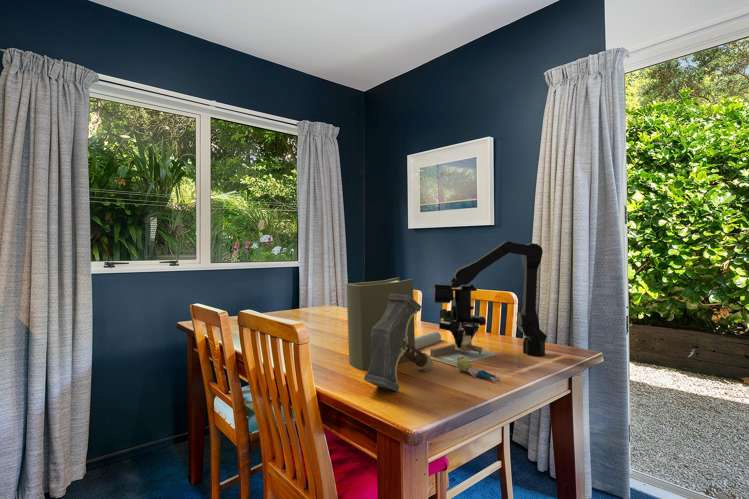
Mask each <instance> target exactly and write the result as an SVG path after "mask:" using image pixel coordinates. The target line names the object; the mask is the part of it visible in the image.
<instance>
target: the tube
mask: <svg viewBox="0 0 749 499" xmlns="http://www.w3.org/2000/svg"><path fill="white" fill-rule="evenodd" d="M441 340H442V335H441V333H440V332H439V331H431V332H427V333H424V334H421V335H418V336H415V348H416V349H417V350H420V349H422V348H425V347H428V346H431V345H433V344H436V343H439V342H441Z"/></svg>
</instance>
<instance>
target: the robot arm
mask: <svg viewBox="0 0 749 499" xmlns="http://www.w3.org/2000/svg"><path fill="white" fill-rule="evenodd" d="M543 251H544V250H543V248H542V247H541V246H540V244H538V243H532V242H531V243H525V244H523V243H522V244H521V243H517V242H516V243H515V242H512V241H509V240H505V241H502V242H501V244H499V245H498V246H496V247H495V248H493V249H492V250H490V251H489V252H487V253H486V254H484V255H483V256H481V257H479V258H478V259H477V260H475V261H473V262H471V263H469V264H466V265H463V266H461V267H458V268H457V269H455V271H454V273H453V278H452V279H451V281H450V282H449V283H448V284H442V283H441V284H440V283H434V288H433V290H434V292H433V303H434V304H451V302H453V301H454V305H452V306H451V309H450V310H447V309H446V308H443V309H439V317H440V319H442V320H440V321H439V325H438V326H439V330H440V329H441V330H444V331H449V332H451V334H452V336H453V339H454V343H455V342H456V345H457V347H458V348H461V344H462V339H463V335H464V334H465V335H469V336H471V341H472V340H473V337H474V336H475V335H476V333H477V330H478V329H480V326H482V327H483V326H486V325H487V320H486V318H485V317H484V316H481V315H475V314H474V315H472V310H475V309H474V308H475V306H473V305H472V292H477V291H478V289H477V288H476V287H475V286H474V284H473V283H471V282H472V281H473V280H474V279H475V278H476V277H477V276H478V275H479V274H480V273H481V272H482V271H484V270H485V269H486V268H488V267H490V266H491V265H493V264H494V263H496V262H497V261H498V260H500V259H502V258H503V257H504V256H506V255H508V254H515V255H519V256H520V257H521V258H520V259H521V262H522V266H523V292H522V293H523V294H522V309H521V311H520V312H516V322H515V323H516V325H517V327H518V329H519V331H520V332H522V333H523V335H524V338H523V341H522V351H523V352H522V353H523V354H525V355H527V356H530V357H539V358H541V357H545V356H546V340H547V338H548V335H547V334H545V333H544V332H543V331H542V330H541V329H540V327H541V326H540V320H539V316H538V313H537V288H538V285H537V284H538V271H539V267H540V264H541V262H542V258H543ZM477 324H478V325H479V326H477Z"/></svg>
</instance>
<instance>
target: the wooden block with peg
mask: <svg viewBox="0 0 749 499" xmlns="http://www.w3.org/2000/svg"><path fill="white" fill-rule="evenodd" d="M471 341H472V340H471V336H469V335H465V333H464V335H463V339H462V344H461V348H458V347H457V345H456V342H455V341H454V344H455V350H459V351H463V352H465V351H469V350H473V351H477V352H479V354H481V352H482V350H483V347H482V346H478V345H473V344H472V345H471Z"/></svg>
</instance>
